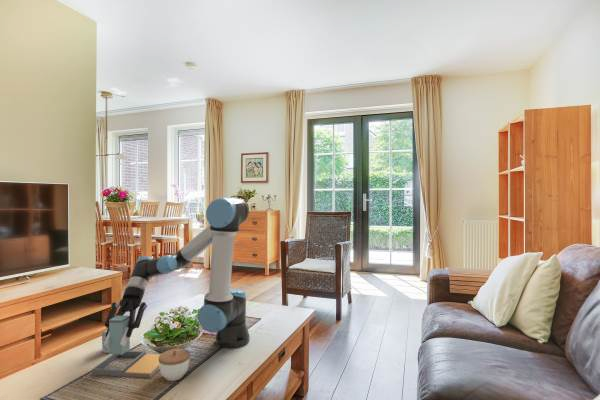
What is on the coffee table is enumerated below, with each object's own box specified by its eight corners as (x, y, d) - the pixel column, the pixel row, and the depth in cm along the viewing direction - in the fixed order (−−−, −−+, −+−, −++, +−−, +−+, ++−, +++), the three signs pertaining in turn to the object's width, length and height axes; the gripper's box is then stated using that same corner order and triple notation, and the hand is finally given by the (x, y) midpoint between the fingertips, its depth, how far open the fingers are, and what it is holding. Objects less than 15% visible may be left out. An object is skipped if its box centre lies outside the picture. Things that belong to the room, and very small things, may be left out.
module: (129, 348, 133) (129, 315, 133) (122, 354, 128) (121, 320, 128) (117, 348, 134) (117, 315, 134) (109, 354, 129) (108, 319, 129)
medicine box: (111, 353, 140) (111, 332, 140) (101, 352, 141) (101, 331, 141) (124, 345, 148) (124, 325, 148) (115, 344, 149) (115, 324, 149)
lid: (171, 357, 137) (171, 354, 137) (151, 377, 122) (151, 374, 122) (145, 356, 138) (145, 353, 138) (122, 376, 123) (122, 372, 123)
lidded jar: (158, 387, 116) (158, 359, 116) (158, 372, 126) (158, 346, 126) (191, 380, 120) (191, 354, 120) (188, 366, 130) (188, 342, 130)
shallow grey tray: (146, 356, 138) (146, 351, 138) (123, 376, 123) (123, 370, 123) (118, 355, 139) (118, 350, 139) (91, 374, 124) (92, 369, 124)
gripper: (159, 294, 146) (142, 349, 130) (117, 294, 146) (94, 349, 130) (154, 285, 141) (135, 341, 125) (110, 285, 141) (85, 341, 125)
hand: (114, 345), depth 127 cm, fingers closed on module, 5 cm apart
